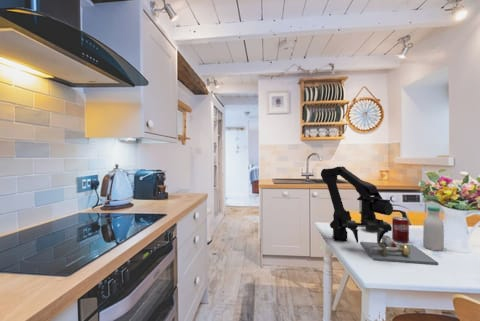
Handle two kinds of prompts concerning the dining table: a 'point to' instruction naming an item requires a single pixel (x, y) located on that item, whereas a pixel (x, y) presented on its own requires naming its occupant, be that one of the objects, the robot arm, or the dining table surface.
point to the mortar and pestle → (366, 228)
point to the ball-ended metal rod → (388, 241)
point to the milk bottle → (433, 230)
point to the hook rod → (393, 249)
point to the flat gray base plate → (399, 255)
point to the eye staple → (383, 249)
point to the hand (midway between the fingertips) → (367, 243)
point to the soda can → (400, 229)
